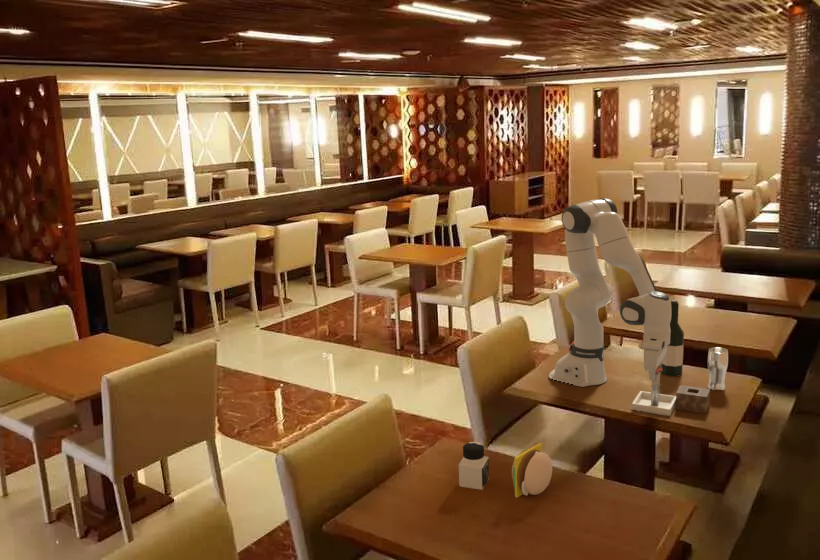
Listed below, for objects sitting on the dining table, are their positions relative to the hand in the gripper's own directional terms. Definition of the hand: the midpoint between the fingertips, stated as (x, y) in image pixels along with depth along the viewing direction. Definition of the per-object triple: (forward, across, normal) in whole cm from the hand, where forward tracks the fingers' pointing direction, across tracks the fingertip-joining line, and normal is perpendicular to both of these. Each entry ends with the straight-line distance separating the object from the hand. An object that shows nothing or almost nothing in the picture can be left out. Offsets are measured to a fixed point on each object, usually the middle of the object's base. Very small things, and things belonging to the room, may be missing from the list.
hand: (655, 375), depth 252 cm
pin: (+11, 0, 0) cm, 11 cm away
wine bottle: (+12, -37, -1) cm, 39 cm away
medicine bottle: (+12, +77, -35) cm, 85 cm away
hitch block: (+12, -5, +12) cm, 18 cm away
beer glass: (+12, -27, +17) cm, 34 cm away
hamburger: (+12, +74, -18) cm, 77 cm away
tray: (+12, 0, 0) cm, 12 cm away
